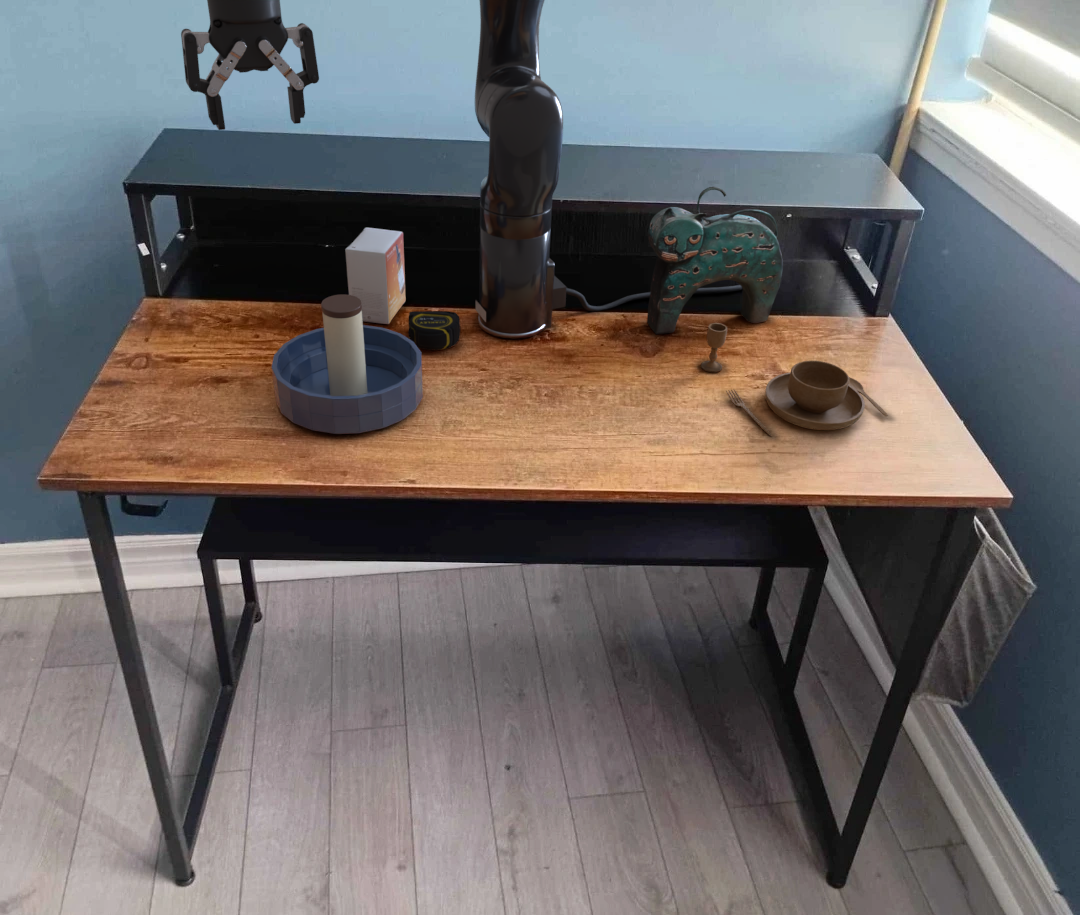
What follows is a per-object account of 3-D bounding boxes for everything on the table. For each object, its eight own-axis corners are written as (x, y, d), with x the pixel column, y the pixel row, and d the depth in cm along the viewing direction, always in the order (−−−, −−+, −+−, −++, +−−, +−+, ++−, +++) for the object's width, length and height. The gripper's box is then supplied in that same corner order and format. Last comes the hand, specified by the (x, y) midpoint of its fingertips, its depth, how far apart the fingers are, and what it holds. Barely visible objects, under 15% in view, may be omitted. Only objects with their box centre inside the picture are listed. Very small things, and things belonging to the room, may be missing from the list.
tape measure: (459, 331, 133) (459, 306, 131) (460, 356, 127) (460, 330, 125) (409, 331, 132) (408, 306, 130) (407, 356, 127) (406, 330, 125)
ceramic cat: (646, 340, 133) (664, 197, 122) (630, 318, 138) (645, 179, 127) (778, 326, 138) (806, 188, 127) (757, 305, 143) (783, 171, 132)
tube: (361, 380, 120) (355, 291, 113) (372, 399, 117) (366, 308, 110) (325, 387, 118) (316, 297, 111) (335, 406, 115) (327, 314, 108)
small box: (388, 326, 133) (385, 253, 127) (349, 320, 134) (344, 248, 128) (407, 300, 140) (404, 230, 134) (369, 295, 140) (365, 225, 134)
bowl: (397, 353, 127) (395, 315, 124) (442, 421, 115) (442, 381, 112) (263, 377, 121) (258, 338, 118) (296, 452, 109) (291, 410, 105)
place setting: (776, 447, 113) (786, 404, 110) (692, 364, 128) (699, 324, 125) (899, 421, 119) (911, 380, 116) (805, 344, 134) (814, 306, 131)
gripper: (174, -22, 98) (200, 140, 107) (315, -27, 103) (328, 129, 112) (164, -35, 103) (189, 120, 113) (298, -39, 108) (312, 110, 118)
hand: (259, 124), depth 112 cm, fingers open, 8 cm apart
